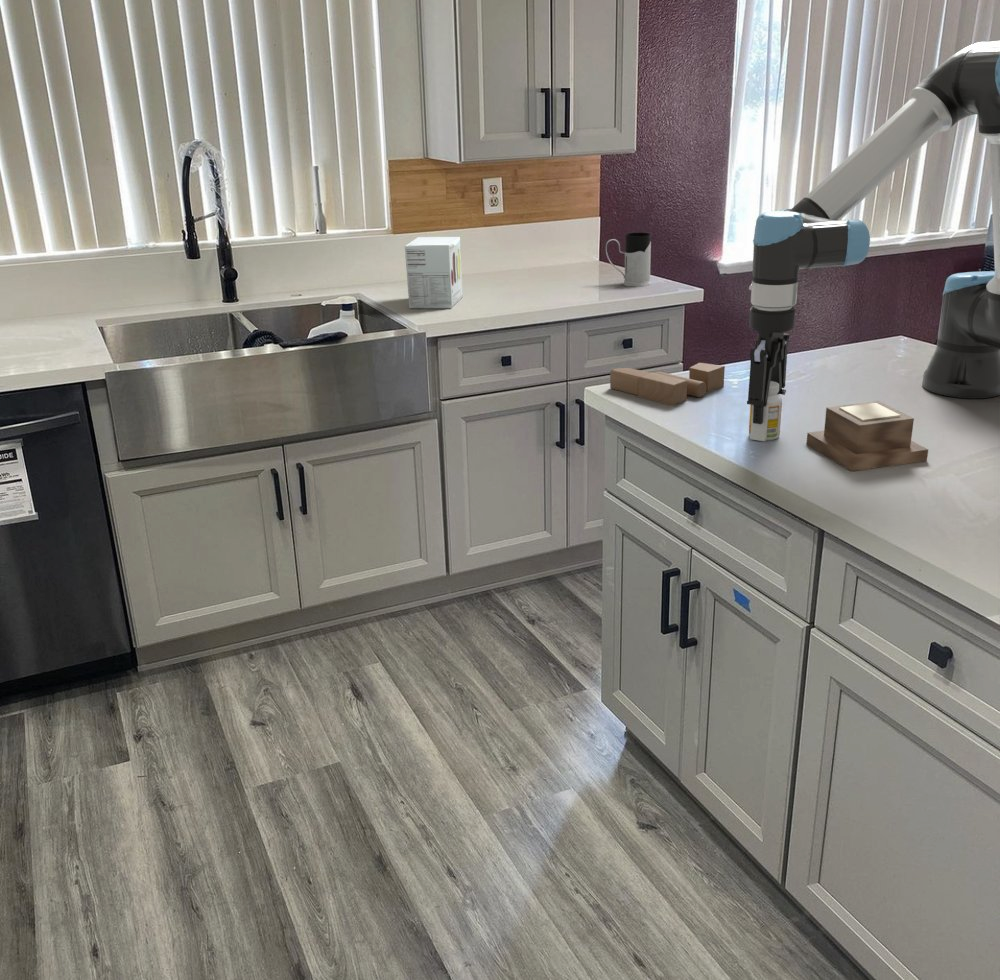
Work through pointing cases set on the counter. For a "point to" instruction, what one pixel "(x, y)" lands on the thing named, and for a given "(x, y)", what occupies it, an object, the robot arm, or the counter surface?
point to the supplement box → (434, 272)
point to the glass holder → (636, 259)
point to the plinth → (867, 457)
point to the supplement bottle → (772, 412)
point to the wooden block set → (668, 383)
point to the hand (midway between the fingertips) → (764, 434)
